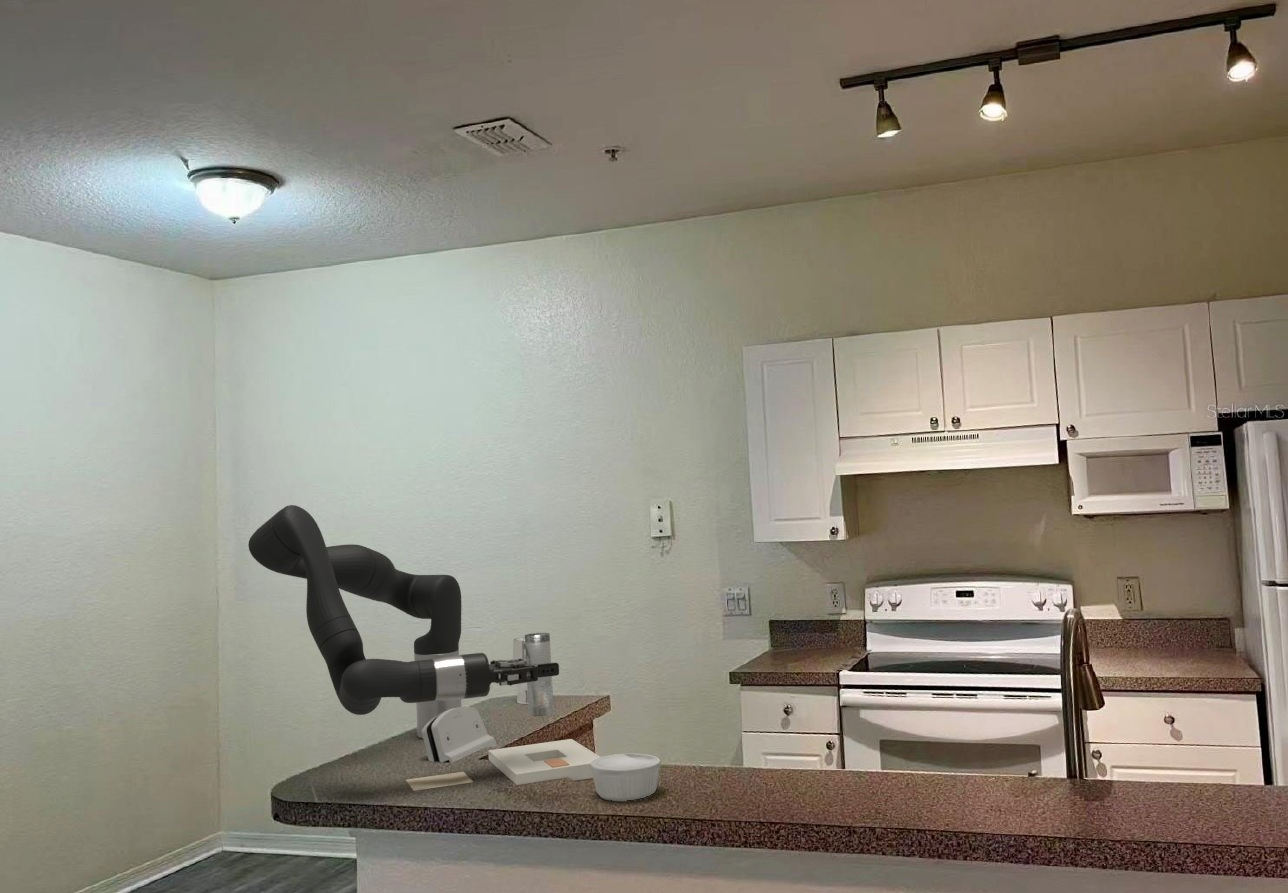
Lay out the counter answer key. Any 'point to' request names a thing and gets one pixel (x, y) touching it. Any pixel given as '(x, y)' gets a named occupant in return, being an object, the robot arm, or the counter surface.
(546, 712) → the grey capped tube
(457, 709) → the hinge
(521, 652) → the beer glass
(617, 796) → the ramekin
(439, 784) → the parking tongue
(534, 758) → the hole plate
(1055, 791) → the counter surface
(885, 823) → the counter surface
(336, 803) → the counter surface
